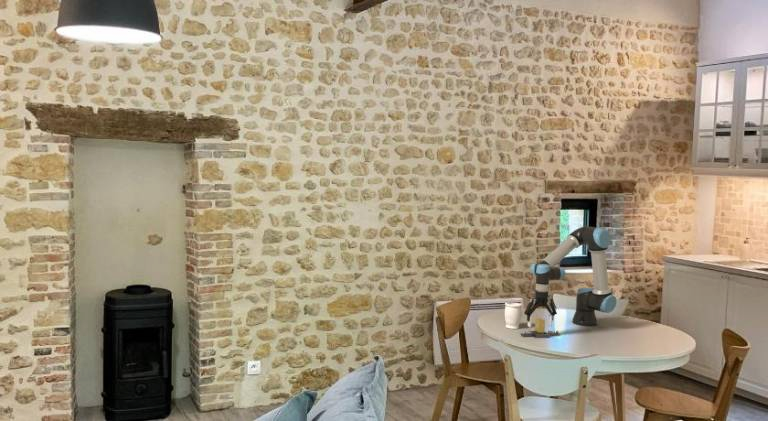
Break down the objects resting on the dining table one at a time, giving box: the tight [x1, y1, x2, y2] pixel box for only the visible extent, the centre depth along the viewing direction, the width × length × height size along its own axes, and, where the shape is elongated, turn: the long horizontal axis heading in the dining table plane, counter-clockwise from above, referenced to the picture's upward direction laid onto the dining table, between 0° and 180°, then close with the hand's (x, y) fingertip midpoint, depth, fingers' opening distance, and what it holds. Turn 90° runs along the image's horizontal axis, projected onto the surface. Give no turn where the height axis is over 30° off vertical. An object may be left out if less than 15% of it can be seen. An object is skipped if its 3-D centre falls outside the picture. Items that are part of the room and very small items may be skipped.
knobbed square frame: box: [520, 330, 560, 339], centre depth 396 cm, size 24×9×2 cm, turn 106°
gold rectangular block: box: [534, 318, 546, 334], centre depth 396 cm, size 4×4×10 cm
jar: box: [504, 301, 523, 330], centre depth 414 cm, size 11×10×15 cm
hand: (539, 326), depth 396 cm, fingers open, 13 cm apart
